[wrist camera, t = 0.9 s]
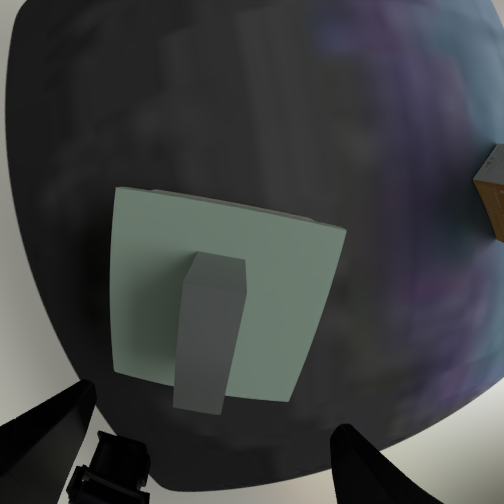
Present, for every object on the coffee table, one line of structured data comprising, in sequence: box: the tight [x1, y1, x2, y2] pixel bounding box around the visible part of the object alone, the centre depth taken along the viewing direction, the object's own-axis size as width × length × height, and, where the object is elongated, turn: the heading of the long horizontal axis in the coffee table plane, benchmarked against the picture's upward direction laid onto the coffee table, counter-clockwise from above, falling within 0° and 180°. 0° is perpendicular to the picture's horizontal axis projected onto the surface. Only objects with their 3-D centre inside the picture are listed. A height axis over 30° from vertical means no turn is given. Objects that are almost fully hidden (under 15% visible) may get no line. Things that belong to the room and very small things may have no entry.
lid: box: [110, 187, 347, 415], centre depth 14 cm, size 12×12×6 cm
